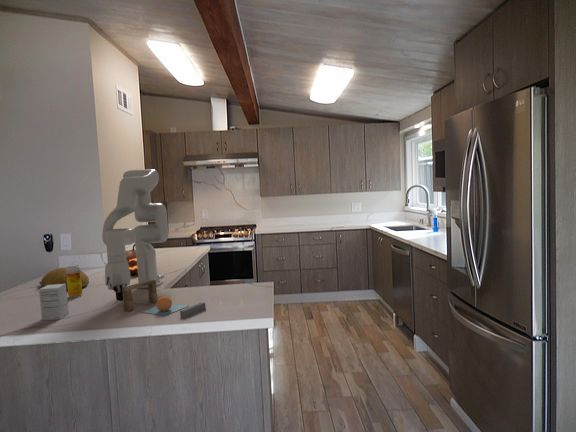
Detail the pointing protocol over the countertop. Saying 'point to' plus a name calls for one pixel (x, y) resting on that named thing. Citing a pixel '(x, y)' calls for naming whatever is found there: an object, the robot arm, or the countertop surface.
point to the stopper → (192, 310)
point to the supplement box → (53, 301)
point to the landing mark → (164, 313)
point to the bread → (61, 277)
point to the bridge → (128, 290)
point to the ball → (164, 303)
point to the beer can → (74, 281)
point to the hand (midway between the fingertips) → (120, 300)
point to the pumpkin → (132, 261)
